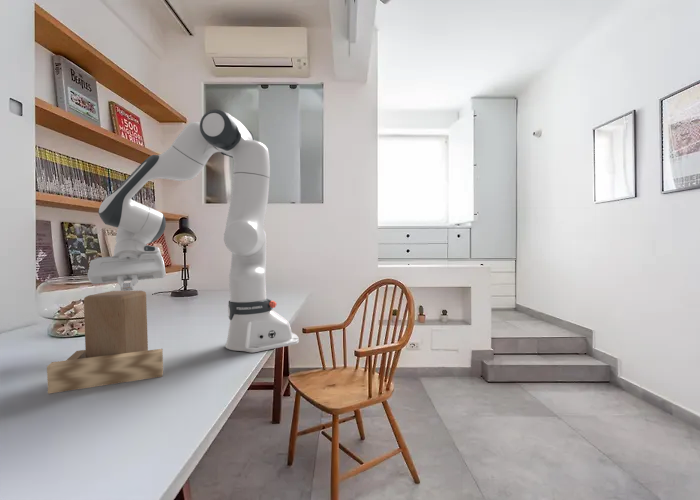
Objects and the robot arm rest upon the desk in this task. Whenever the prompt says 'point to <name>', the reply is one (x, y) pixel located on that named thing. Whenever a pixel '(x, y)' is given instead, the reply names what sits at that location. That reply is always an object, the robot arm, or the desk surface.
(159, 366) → the tan wooden slab
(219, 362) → the desk surface
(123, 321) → the block
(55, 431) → the desk surface
